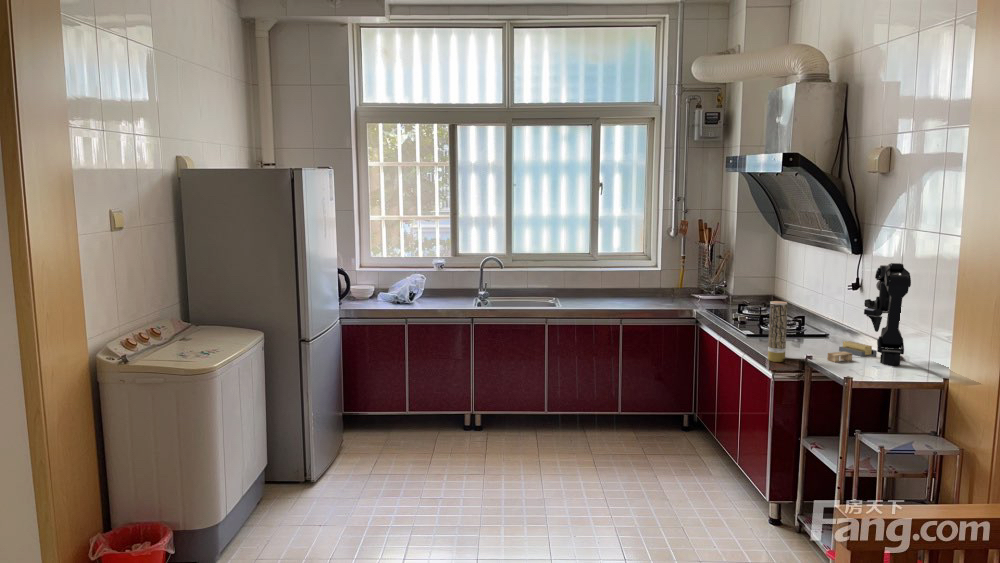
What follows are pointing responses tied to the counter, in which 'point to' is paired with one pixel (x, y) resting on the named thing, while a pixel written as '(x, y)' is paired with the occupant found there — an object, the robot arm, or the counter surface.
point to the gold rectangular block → (858, 346)
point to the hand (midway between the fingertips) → (884, 331)
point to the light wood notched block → (843, 356)
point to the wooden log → (777, 331)
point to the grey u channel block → (857, 352)
